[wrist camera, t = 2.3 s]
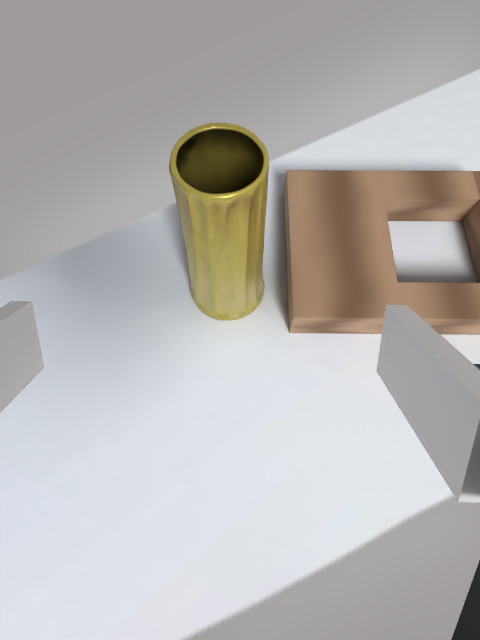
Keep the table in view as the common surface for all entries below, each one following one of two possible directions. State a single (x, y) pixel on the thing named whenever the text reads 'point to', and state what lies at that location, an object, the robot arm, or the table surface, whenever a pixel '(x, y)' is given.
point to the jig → (373, 248)
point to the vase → (222, 216)
